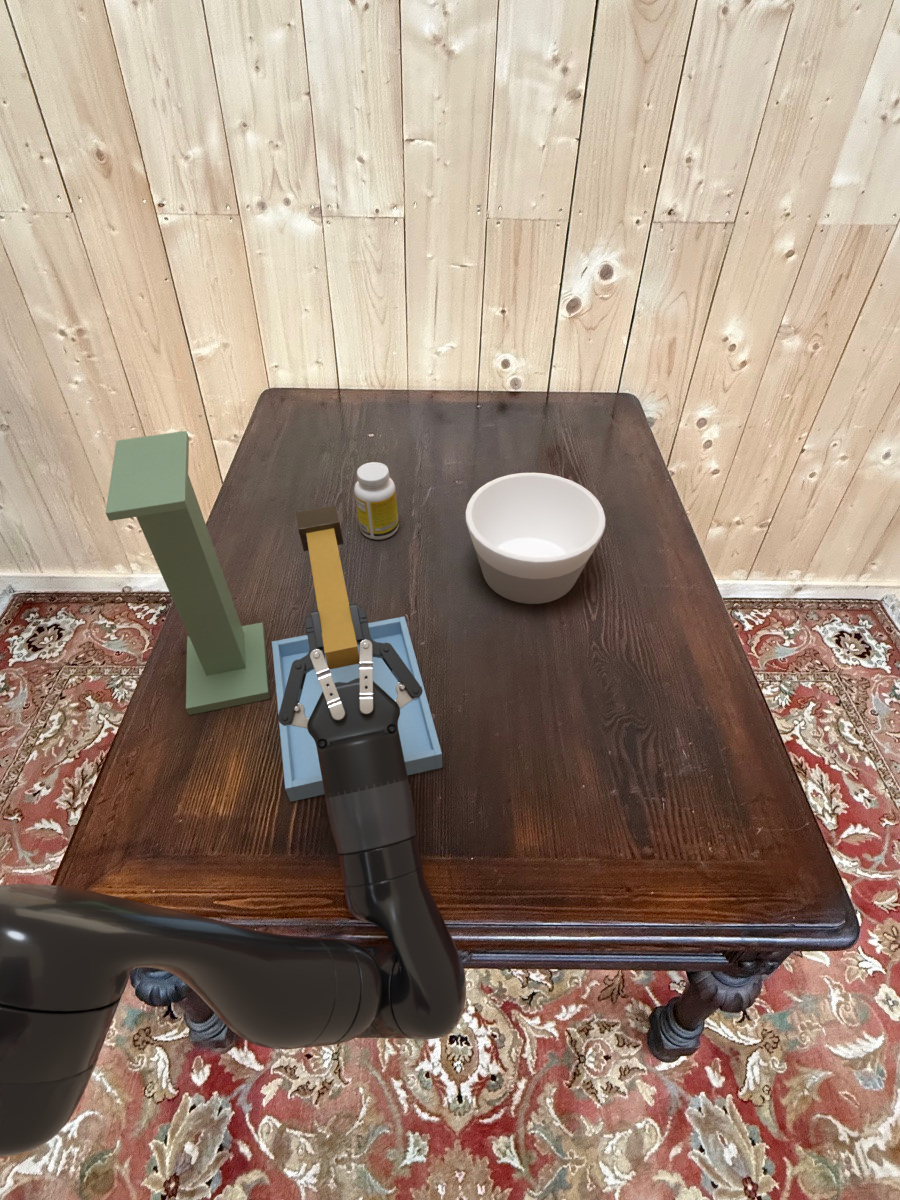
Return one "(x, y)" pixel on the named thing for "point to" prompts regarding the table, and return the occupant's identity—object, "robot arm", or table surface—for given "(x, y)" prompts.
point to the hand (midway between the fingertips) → (333, 609)
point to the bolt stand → (189, 571)
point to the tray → (413, 718)
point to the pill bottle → (376, 501)
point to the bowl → (533, 534)
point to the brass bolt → (329, 584)
